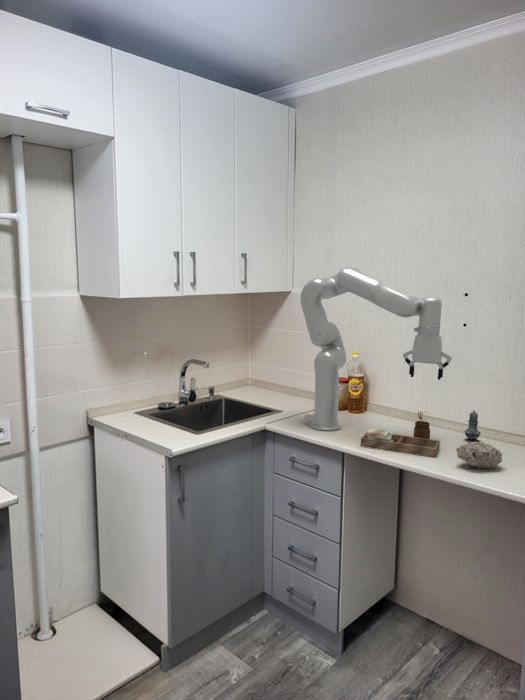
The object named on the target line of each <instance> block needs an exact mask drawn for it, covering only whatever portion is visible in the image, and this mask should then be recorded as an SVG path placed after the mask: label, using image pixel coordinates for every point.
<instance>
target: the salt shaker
mask: <svg viewBox="0 0 525 700" xmlns="http://www.w3.org/2000/svg"><path fill="white" fill-rule="evenodd" d="M478 418H479V414H478V413H477V412H476V411H475V409H473V411H472V412H470V413H469V420H468V421H467V422H468V426H467V429H465V430H463V432H464V435H465V437H466V438H464V440H465V441H464V442H466V441H467V442H466V443H469V442H479V443H480V440H478V439H479V437H480V435H481V431H480V430H478V425H479V421H478Z"/></svg>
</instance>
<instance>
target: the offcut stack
mask: <svg viewBox="0 0 525 700" xmlns="http://www.w3.org/2000/svg"><path fill="white" fill-rule="evenodd" d="M366 432H367V436H368V439H375V440H382V441H389V442H393V440H392V435H390V434H391V431H390V430H384V429H377V428H370V429H369V430H367V431H366Z"/></svg>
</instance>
